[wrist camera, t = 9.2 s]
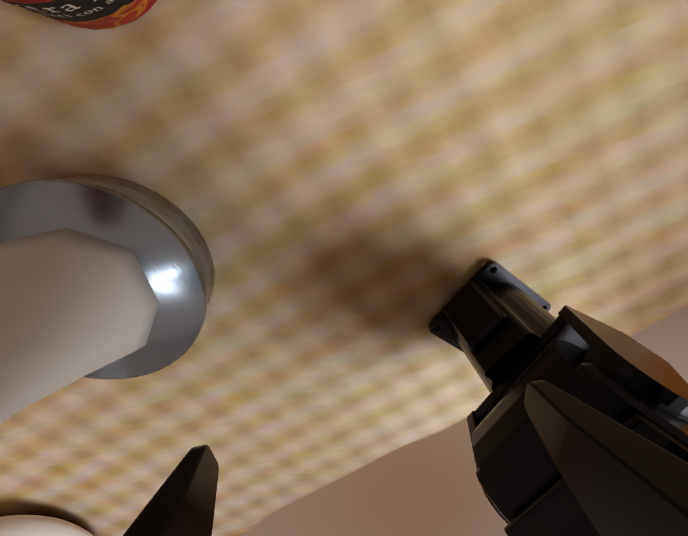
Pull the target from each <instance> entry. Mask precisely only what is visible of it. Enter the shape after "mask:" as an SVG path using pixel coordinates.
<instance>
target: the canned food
mask: <svg viewBox="0 0 688 536" xmlns="http://www.w3.org/2000/svg"><path fill="white" fill-rule="evenodd" d="M1 1H4V2H7V3H10V4H13V5H16V6H18V7H21V8H24V9H27V10H30V11H33V12H35V13H38V14H41V15H44V16H47V17H50V18H52V19H55V20H58V21H61V22H64V23H67V24H69V25H72V26H75V27H81V28H88V29H94V30H97V29H110V28H115V27H118V26H121V25H124V24H127V23H130V22H132V21H135V20H136V19H138V18H139V17H141V16H142V15H143V14H145V13H146V12H148V10H149V9H150V8H151V7H152V6H153V4H154V3H155V2H156V1H157V0H1Z"/></svg>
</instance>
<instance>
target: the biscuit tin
mask: <svg viewBox="0 0 688 536" xmlns="http://www.w3.org/2000/svg"><path fill="white" fill-rule="evenodd" d="M62 228H69V229H72V230H75V231H77V232H80V233H83V234H86V235H89V236H92V237H94V238H97V239H100V240H103V241H106V242H109V243H111V244H114V245H117V246H120V247H123V248H126V249H128V250H131V251H133V252H134V254H135V255H136V257H137V259H138V261H139V263H140V265H141V267H142V269H143V271H144V273H145V275H146V277H147V279H148V281H149V283H150V285H151V287H152V289H153V291H154V293H155V295H156V297H157V299H158V301H159V304H158V307H157V311H156V314H155V317H154V320H153V324H152V327H151V330H150V333H149V336H148V340H147V343H146V345H145V346H144V347H142V348H140V349H138V350H136V351H134V352H132V353H130V354H128V355H126V356H124V357H122V358H120V359H118V360H116V361H114V362H112V363H110V364H108V365H106V366H104V367H102V368H100V369H98V370H96V371H94V372H92V373H89V374H87V375H86V376H84V377H88V378H95V379H125V378H132V377H138V376H142V375H146V374H150V373H152V372H155V371H158V370H160V369H162V368H164V367H166V366H168V365H170V364H172V363H173V362H174V361H176V360H177V359H179V358H180V357H181V356H182V355H183V354H184V353H185V352H186V351H187V350H188V349H189V348H190V347H191V345H192V344H193V343H194V341H195V339H196V337H197V336H198V334H199V332H200V330H201V328H202V325H203V322H204V319H205V315H206V309H207V304H208V303H209V301H210V298H211V295H212V292H213V286H214V267H213V261H212V258H211V254H210V251H209V249H208V247H207V244H206V242H205V240H204V238H203V237H202V235H201V234H200V232H199V230H198V229H197V228H196V226H195V225H194V224H193V223H192V221H191V220H190V219H189V218H188V217H187V216H186V215H185V214H184V213H183V212H182V211H181V210H180V209H179V208H177V207H176V206H175V205H174V204H173V203H171V202H170V201H169V200H167V199H166V198H164V197H162V196H161V195H159V194H158V193H156V192H154V191H152V190H150V189H148V188H146V187H144V186H141V185H139V184H136V183H134V182H131V181H128V180H124V179H120V178H116V177H110V176H103V175H80V176H72V177H68V178H64V179H40V180H30V181H26V182H21V183H17V184H13V185H9V186H5V187H2V188H0V245H1V244H2V242H3V241H7V240H11V239H16V238H21V237H25V236H30V235H34V234H39V233H43V232H48V231H53V230H57V229H62Z"/></svg>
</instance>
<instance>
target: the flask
mask: <svg viewBox="0 0 688 536" xmlns="http://www.w3.org/2000/svg"><path fill="white" fill-rule="evenodd" d="M158 304H159V301H158V299H157V297H156V295H155V293H154V291H153V289H152V287H151V285H150V283H149V281H148V279H147V277H146V275H145V273H144V271H143V269H142V267H141V265H140V263H139V261H138V259H137V257H136V255H135V254H134V252H133V251H131V250H128V249H126V248H123V247H120V246H117V245H114V244H111V243H109V242H106V241H103V240H100V239H97V238H94V237H92V236H89V235H86V234H83V233H80V232H77V231H75V230H72V229H69V228H62V229H57V230H53V231H48V232H43V233H39V234H34V235H30V236H25V237H21V238H16V239H11V240H7V241H3V242H2V244H1V245H0V424H1V423H3V422H4V421H6V420H7V419H9V418H10V417H11V416H13V415H14V414H16V413H17V412H18V411H20V410H22V409H24V408H26V407H28V406H30V405H31V404H33V403H35V402H37V401H39V400H41V399H43V398H44V397H46V396H48V395H50V394H52V393H54V392H56V391H58V390H59V389H61V388H63V387H65V386H67V385H69V384H71V383H73V382H74V381H76V380H78V379H80V378H82V377H84V376H86V375H87V374H89V373H92V372H94V371H96V370H98V369H100V368H102V367H104V366H106V365H108V364H110V363H112V362H114V361H116V360H118V359H120V358H122V357H124V356H126V355H128V354H130V353H132V352H134V351H136V350H138V349H140V348H142V347H144V346H145V345H146V343H147V340H148V336H149V333H150V330H151V327H152V324H153V320H154V317H155V314H156V311H157V307H158Z"/></svg>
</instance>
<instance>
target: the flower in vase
mask: <svg viewBox="0 0 688 536" xmlns="http://www.w3.org/2000/svg"><path fill="white" fill-rule="evenodd" d="M0 536H93V535H92V534H91V533H90V532H88V531H87V530H85V529H83V528H81V527H79V526H77V525H75V524H73V523H71V522H68V521H65V520H62V519H58V518H54V517H48V516H39V515H11V516H3V517H0Z"/></svg>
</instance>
